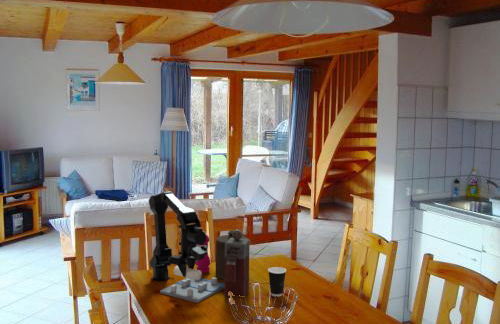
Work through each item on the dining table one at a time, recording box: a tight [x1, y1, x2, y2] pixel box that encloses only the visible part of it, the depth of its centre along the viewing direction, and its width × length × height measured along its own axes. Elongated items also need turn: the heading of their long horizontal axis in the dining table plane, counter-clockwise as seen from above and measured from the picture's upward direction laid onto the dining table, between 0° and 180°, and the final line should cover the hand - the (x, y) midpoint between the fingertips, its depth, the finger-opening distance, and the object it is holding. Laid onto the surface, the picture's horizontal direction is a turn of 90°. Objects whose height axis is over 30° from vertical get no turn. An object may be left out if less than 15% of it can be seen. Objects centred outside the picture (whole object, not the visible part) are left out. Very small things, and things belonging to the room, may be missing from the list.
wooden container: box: [215, 229, 248, 281], centre depth 239 cm, size 15×15×22 cm
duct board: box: [159, 276, 225, 304], centre depth 220 cm, size 20×22×4 cm
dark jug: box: [223, 228, 251, 297], centre depth 215 cm, size 9×11×28 cm
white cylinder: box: [173, 265, 203, 280], centre depth 215 cm, size 12×4×4 cm, turn 59°
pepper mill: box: [195, 230, 211, 274], centre depth 245 cm, size 7×7×20 cm
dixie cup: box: [267, 266, 287, 298], centre depth 216 cm, size 8×8×11 cm
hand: (187, 275), depth 215 cm, fingers closed on white cylinder, 4 cm apart
